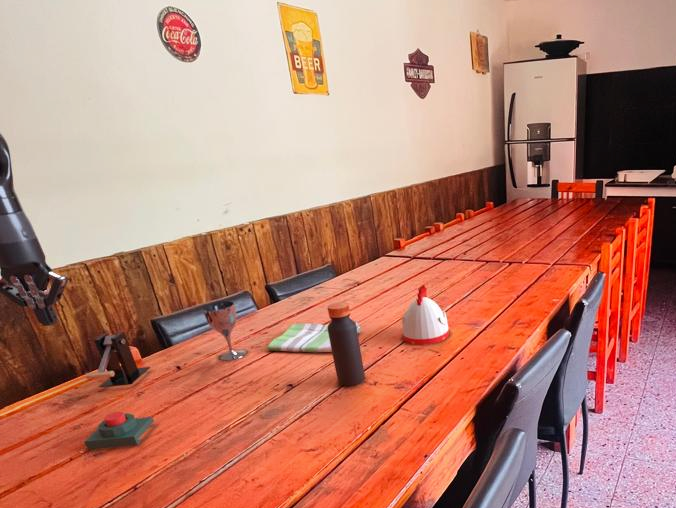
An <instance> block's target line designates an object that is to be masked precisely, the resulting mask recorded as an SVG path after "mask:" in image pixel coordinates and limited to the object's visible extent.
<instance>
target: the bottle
mask: <svg viewBox="0 0 676 508" xmlns="http://www.w3.org/2000/svg"><path fill="white" fill-rule="evenodd" d="M327 314H328V316H329V319H330V320H331V321H330V322H329V323H328V324H329V325H328V324H327V325H328V334H329V339H330V344H331V349H332V352H331V354H332V358H333V359H332V360H333V364H334V370H335V375H336V380H337V383H338V384H339V385H341V386H342V387H354V386H357V385H360V384H362V383H363V382H364V381H365V379H366V375H365V367H364V363H363V357H362V351H361V345H360V339H359V333H357V327H356V323H355V321H354V320H353V319H352V318H350V316H351V310H350V305H349V303H347V302H346V301H345V302H343V301H342V302H339V301H338V302H333V303H330V304H329V305H327Z"/></svg>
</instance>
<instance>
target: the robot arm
mask: <svg viewBox="0 0 676 508" xmlns="http://www.w3.org/2000/svg"><path fill="white" fill-rule="evenodd" d="M14 185H15V183H14V174H13V167H12V157H11V151H10V147H9V145H8V142H7V140H6V137H4V135H3V133H1V132H0V294H1V295H3V296H4V297H6V298H7V299H9V300H10V301H12V302H13V303H14V304H16V305H17V306H19V307H21V308H23V307H24V308H25V307H26V308H29V309H31V310H32V311H33V313H34V315H35V318H36V319H37V322H38V323H39V324H40V325H42V326H43V327H49V326H53V325H55V324H57V321H58V315H57V313H56V311H55V308H54V307H53V305H54V304H55V303H57V302H59V301H60V300H61V299H62V297H63V294H64V292H65V289H66V286H67V284H68V282H69V277H68V276H67V275H64V274H63V275H59V274H57V273H55V272H53V269H52V267H50V265H48V264H47V261H46V255H45V254H46V253H45V252H44V250H43V248H42V245H41V243H40V241H39V239H38V236H37V234H36V231H35V229H34V227H33V224H32V223H31V220H30V219H29V217H28V216H27V214H26V212H25V211H24V208H23V205H22V203H21V200H20V197H19V196H18V194H17V191H16V189H15V186H14Z"/></svg>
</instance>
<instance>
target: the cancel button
mask: <svg viewBox="0 0 676 508" xmlns="http://www.w3.org/2000/svg"><path fill="white" fill-rule="evenodd" d="M124 414H125V413H124V412H123V411H115V412H112V413H109V414H107V415H106V416H104V417H103V421H105V423H106V425H107V427H114V426H117V425H120V424H122V423H124V422H125V421H126V417H125V415H124Z"/></svg>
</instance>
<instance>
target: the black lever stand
mask: <svg viewBox="0 0 676 508" xmlns="http://www.w3.org/2000/svg"><path fill="white" fill-rule="evenodd" d="M114 335H115V336H114V337H112V338H111V341H112V344H113V346H114V349H113V350H112V353H111V356H110V359H109V362H108V365H107V367H106V370H105V371H114V373H115V375H114V376H113V377H108V378H107V379H106V380H105V381H103V383H102V384H100V385H99V386H98V387H99V388H106V387H108V388H109V387H118V386H130V385H133V384H134V383H135V382H136V381H137V380H138V379H139V378H140V377H142V375H144V374H145V373H147V371H148V370H149V369H150V366H145V367H138V366H137V363H136V361H135V358H134V356H133V353H132V350H131V347H130V345H129V343H128V339H127V337H126V334H125V333H124V331H119V332H118V333H116V334H114ZM106 336H109V334H108V333H103V334H101V335H99V336H98V337H97V338H95V339H94V340H93V342H94V344H95V346H96V348H97V351H98V353H99V355H100V358H101V359H102V358H103V355H104V352H105V349H106V347H105V346H104V345H103V343H104V340H105V337H106Z"/></svg>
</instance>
